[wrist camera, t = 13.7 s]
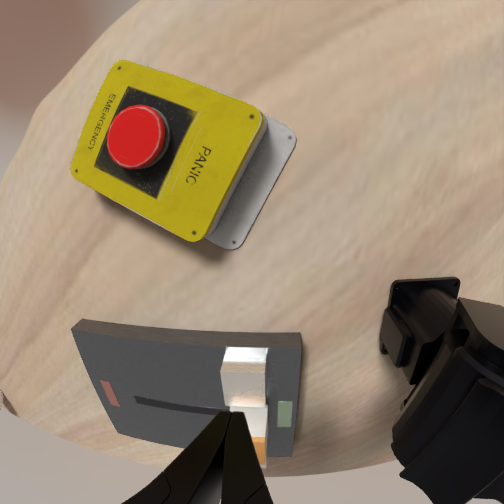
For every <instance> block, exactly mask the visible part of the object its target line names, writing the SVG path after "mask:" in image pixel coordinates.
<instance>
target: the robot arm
mask: <svg viewBox="0 0 504 504" xmlns="http://www.w3.org/2000/svg"><path fill="white" fill-rule="evenodd" d="M455 282H456V283H455ZM454 283H455V284H454ZM453 284H454V285H453ZM398 285H400V287H399V288H398V289H396V287H397V286H398ZM459 287H460V280H459V279H458V278H457V277H442V278H425V279H405V280H395V281H394V282H393V283H392V285H391V290H390V297H389V303H388V307H387V308H386V309H385V312H384V318H383V323H382V329H381V334H380V337H381V339H382V340H381V345H380V351H381V353H382V354H389V355H390V357H391V359H392V361H393V363H394V365H395V366H396V367H397V368H402V370H403V372H404V374H405V376H406V378H407V380H408V382H409V384H410V385H414V384H416V385H415V387H414V388H413V390H412V392H411V393H410V395H409V396H408V398H407V399H405V400H404V401H403V403H402V404H401V411H400V414H399V415H398V416H397V418H396V420H395V422H394V425H393V428H392V433H393V442H392V443H391V448H392V450H393V453H394V455H395V456H396V458H397V459H398V460H399V462H400V463H401V464H402V465H403V466H404V467H405V469H404V470H403V471H402V472H401V473H400V474H399V475H400V477H401V478H403V479H406V480H408V481H410V482H412V483H414V484H415V485H416V486H418V487H419V488H420V489H422V490H423V491H424V493H425V494H426V495H427V496H428V497H429V499H430V500H431V501H432V503H433V504H466V503H467V502H468V501H470V500H471V499H472V498H480V499H495V500H497V501H499V502H500V503H502V504H504V307H502V306H500V305H495V304H490V303H485V302H480V301H475V300H470V299H465V298H460V297H459V298H458V299H457V296H458V292H459ZM385 348H386V349H385ZM220 499H221V504H273V501H272V499H271V496H270V493H269V491H268V487H267V485H266V482H265V479H264V476H263V473H262V469H261V466H260V463H259V460H258V457H257V454H256V450H255V447H254V444H253V441H252V437H251V434H250V430H249V427H248V424H247V420H246V417H245V413H244V412H240V411H233V412H232V411H226V410H221V411H219V412H218V414H217V415H216V416H215V417H214V418H213V419H212V420H211V421H210V422H209V424H208V425H207V426H206V427H205V428H204V429H203V430H202V431H201V432H200V433H199V435H198V436H197V437H196V438H195V439H194V440H193V441H192V442H191V443H190V444H189V445H188V446H187V447H186V448H185V449H184V450H183V451H182V452H181V453H180V454H179V456H178V457H177V458H176V459H175V460H174V461H173V462H172V463H171V464H170V465H169V466H168V467H167V468H166V469H165V470H164V471H163V472H161V474H160V475H158V476H157V478H155V479H154V480H153V481H152V482H151V483H150V484H149V485H147V486H146V487H145V488H143V489H142V490H141V491H139V492H138V493H137V494H135V495H134V496H132V497H131V498H129V499H128V500H126V501H125V502H123V503H122V504H219V502H220Z"/></svg>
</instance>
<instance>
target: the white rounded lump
mask: <svg viewBox="0 0 504 504" xmlns="http://www.w3.org/2000/svg"><path fill="white" fill-rule="evenodd" d="M3 397H4V395H3V393H2V391H1V390H0V410H1V407H2V402H3Z"/></svg>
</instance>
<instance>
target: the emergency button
mask: <svg viewBox="0 0 504 504" xmlns="http://www.w3.org/2000/svg"><path fill="white" fill-rule="evenodd" d="M295 143H296V136H295V134H294V132H293V130H292V129H290V128H289V127H288V126H287V125H285V124H283V123H281V122H279V121H277V120H275V119H273V118H271V117H269V116H267V115H265V114H263V113H262V112H261V111H259V110H258V109H257V108H256V107H254V106H252V105H250V104H248V103H246V102H243V101H241V100H239V99H237V98H234V97H232V96H229V95H227V94H225V93H222V92H220V91H217V90H215V89H212V88H210V87H207V86H205V85H202V84H199V83H197V82H194V81H191V80H188V79H186V78H183V77H180V76H177V75H174V74H171V73H168V72H165V71H162V70H159V69H155V68H152V67H149V66H145V65H142V64H138V63H135V62H131V61H127V60H119V61H118V62H116V63H115V64H114V65H113V66H112V67H111V69H110V70H109V72H108V74H107V76H106V78H105V80H104V82H103V84H102V86H101V88H100V90H99V92H98V95H97V97H96V99H95V101H94V103H93V106H92V108H91V110H90V113H89V115H88V117H87V120H86V122H85V125H84V127H83V130H82V132H81V135H80V138H79V141H78V143H77V146H76V149H75V152H74V155H73V158H72V161H71V166H70V171H71V175H72V176H73V177H74V179H76V180H78V181H80V182H81V183H83V184H85V185H87V186H88V187H90V188H92V189H94V190H95V191H97V192H99V193H101V194H103V195H104V196H106V197H108V198H110V199H112V200H113V201H115V202H117V203H119V204H121V205H122V206H124V207H126V208H128V209H130V210H131V211H133V212H135V213H137V214H139V215H140V216H142V217H144V218H146V219H148V220H150V221H151V222H153V223H155V224H157V225H159V226H161V227H162V228H164V229H166V230H168V231H170V232H172V233H174V234H175V235H177V236H179V237H181V238H183V239H185V240H187V241H191V242H195V241H198V240H201V239H204V238H205V239H207V240H209V241H210V242H212V243H214V244H216V245H218V246H220V247H222V248H226V249H229V250H231V249H235V248H238V247H239V246H240V245H241V244H242V243H243V241H244V239H245V237H246V235H247V234H248V232H249V230H250V228H251V226H252V224H253V222H254V220H255V219H256V217H257V215H258V213H259V211H260V209H261V207H262V206H263V204H264V202H265V200H266V198H267V196H268V194H269V193H270V191H271V189H272V187H273V185H274V183H275V181H276V180H277V178H278V176H279V174H280V172H281V170H282V169H283V167H284V165H285V163H286V161H287V159H288V158H289V156H290V154H291V152H292V150H293V148H294V147H295Z"/></svg>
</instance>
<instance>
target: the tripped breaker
mask: <svg viewBox="0 0 504 504" xmlns="http://www.w3.org/2000/svg"><path fill="white" fill-rule="evenodd" d="M230 411H232V412H233V411H240V412H244V413H245V417H246V420H247V424H248V427H249V430H250V434H251V437H252V441H253V444H254V447H255V450H256V454H257V457H258V460H259V463H260V465H265V461H266V449H267V437H268V405H266V407H265V408H259V407H237V406H230Z"/></svg>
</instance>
